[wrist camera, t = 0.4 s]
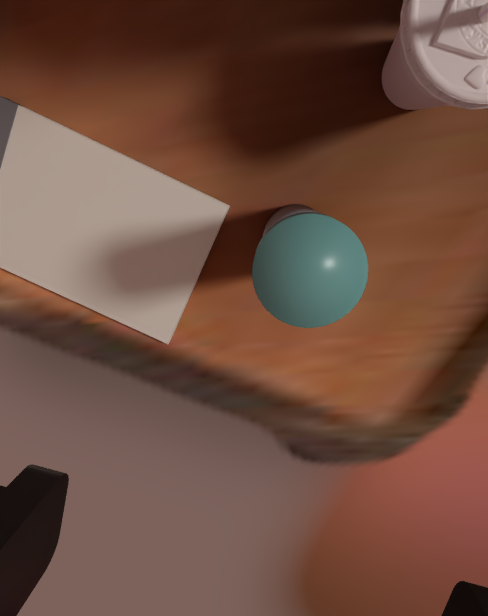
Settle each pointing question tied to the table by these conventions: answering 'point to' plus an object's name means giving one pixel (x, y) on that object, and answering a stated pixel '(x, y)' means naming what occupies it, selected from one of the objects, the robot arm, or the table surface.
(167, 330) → the notepad
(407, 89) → the smoothie
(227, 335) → the table surface
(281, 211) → the marker
